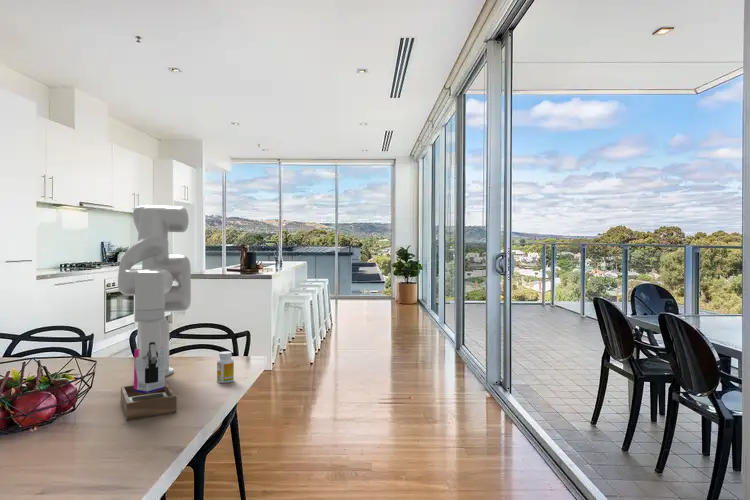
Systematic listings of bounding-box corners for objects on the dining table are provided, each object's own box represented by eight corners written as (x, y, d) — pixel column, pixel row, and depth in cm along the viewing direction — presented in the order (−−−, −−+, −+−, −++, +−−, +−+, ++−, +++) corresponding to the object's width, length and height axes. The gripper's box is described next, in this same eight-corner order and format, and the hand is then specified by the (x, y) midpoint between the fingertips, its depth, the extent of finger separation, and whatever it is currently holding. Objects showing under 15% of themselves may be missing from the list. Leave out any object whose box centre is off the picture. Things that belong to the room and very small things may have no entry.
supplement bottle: (236, 379, 166) (236, 351, 166) (229, 383, 160) (230, 354, 160) (221, 378, 166) (221, 350, 166) (214, 383, 161) (214, 353, 161)
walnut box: (120, 402, 140) (120, 386, 140) (165, 395, 147) (165, 380, 147) (127, 420, 125) (127, 403, 125) (176, 412, 132) (176, 396, 132)
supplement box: (165, 388, 135) (166, 347, 135) (147, 393, 130) (147, 351, 130) (151, 385, 137) (151, 345, 137) (132, 391, 132) (133, 349, 132)
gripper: (131, 312, 139) (130, 374, 139) (138, 320, 124) (138, 388, 124) (159, 311, 143) (159, 370, 143) (169, 318, 128) (169, 384, 128)
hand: (149, 378), depth 133 cm, fingers closed on supplement box, 7 cm apart
